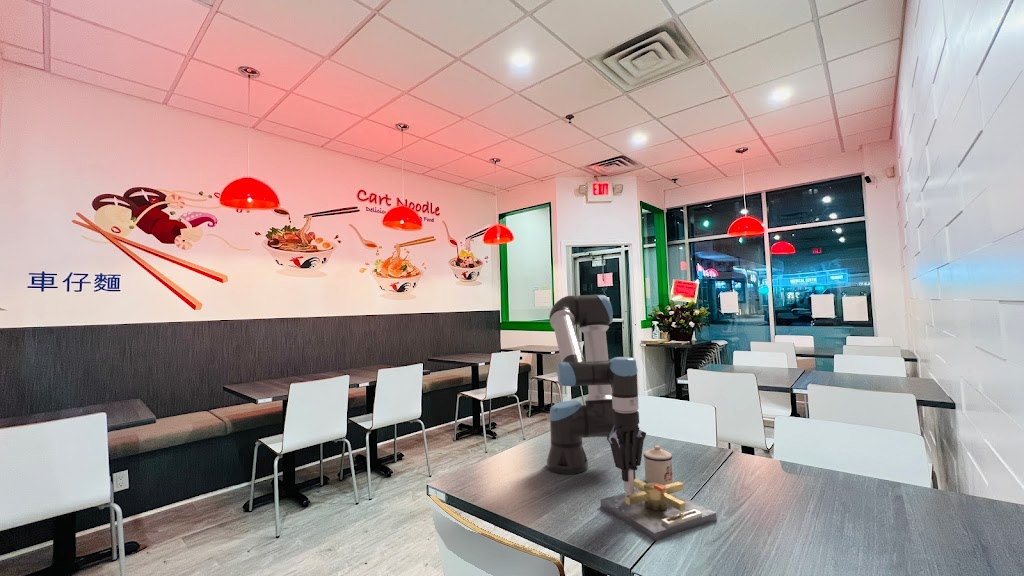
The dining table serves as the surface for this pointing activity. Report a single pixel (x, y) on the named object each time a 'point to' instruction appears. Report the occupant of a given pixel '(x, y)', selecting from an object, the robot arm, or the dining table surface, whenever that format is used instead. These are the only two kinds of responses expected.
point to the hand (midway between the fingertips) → (629, 491)
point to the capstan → (656, 495)
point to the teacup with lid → (658, 466)
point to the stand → (658, 516)
